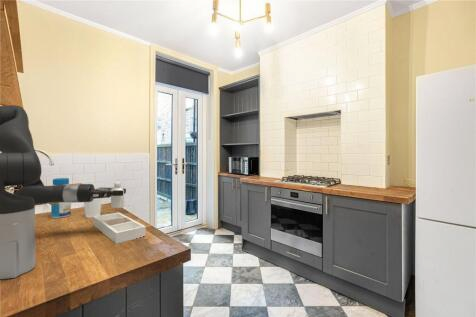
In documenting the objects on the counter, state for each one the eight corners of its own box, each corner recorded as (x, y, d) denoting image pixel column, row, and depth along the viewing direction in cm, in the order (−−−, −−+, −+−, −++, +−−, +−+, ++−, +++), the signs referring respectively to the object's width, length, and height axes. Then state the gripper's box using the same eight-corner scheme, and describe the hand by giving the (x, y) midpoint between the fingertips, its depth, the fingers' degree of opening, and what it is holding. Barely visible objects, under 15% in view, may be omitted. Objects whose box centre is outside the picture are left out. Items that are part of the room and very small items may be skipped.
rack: (145, 236, 91) (145, 226, 91) (116, 243, 83) (116, 233, 83) (119, 220, 112) (118, 212, 112) (93, 225, 105) (93, 216, 104)
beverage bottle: (53, 215, 121) (52, 178, 121) (72, 213, 125) (72, 177, 125) (48, 219, 114) (48, 179, 113) (69, 217, 117) (69, 179, 117)
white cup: (81, 218, 115) (81, 199, 115) (87, 214, 122) (87, 196, 122) (98, 217, 117) (98, 198, 117) (103, 213, 125) (103, 195, 124)
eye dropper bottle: (121, 205, 101) (121, 178, 101) (124, 207, 97) (124, 179, 97) (110, 206, 98) (110, 179, 98) (113, 209, 94) (113, 180, 94)
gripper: (71, 186, 87) (120, 185, 91) (85, 182, 100) (127, 181, 105) (71, 206, 87) (120, 204, 91) (85, 198, 100) (127, 197, 105)
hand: (124, 192), depth 98 cm, fingers closed on eye dropper bottle, 4 cm apart
